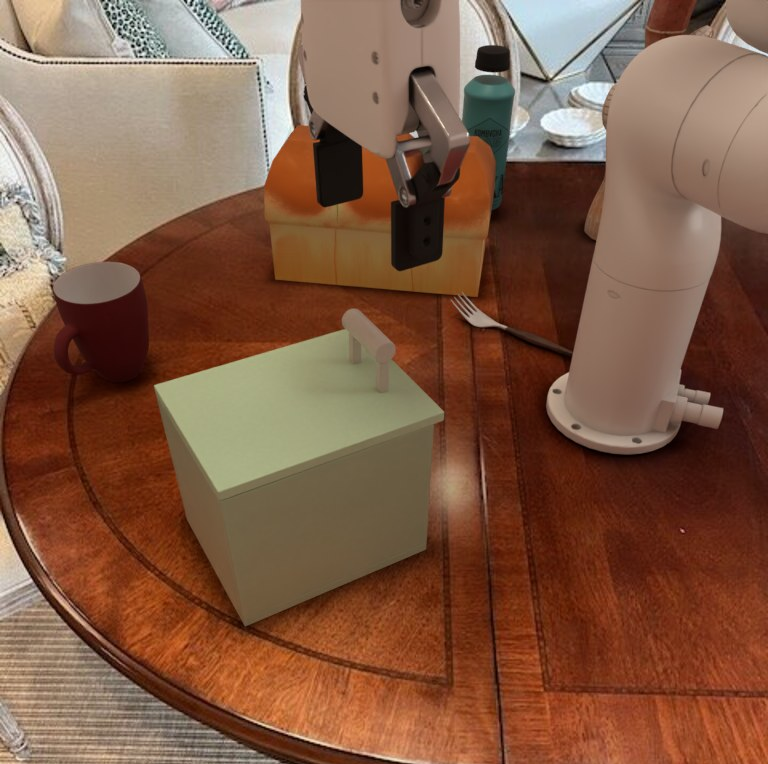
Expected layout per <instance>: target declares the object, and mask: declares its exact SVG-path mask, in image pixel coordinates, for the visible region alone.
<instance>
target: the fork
mask: <svg viewBox="0 0 768 764" xmlns="http://www.w3.org/2000/svg"><path fill="white" fill-rule="evenodd" d="M461 293H462V295H463V296H462V297H464V298H462V297H461V296H460V295H459V294H458V295H457V297H458V298H459V299H460V301H462V303H463V304H464V305H465V307H464V305H463V304H462V303H461V302H460V301H459V300H458V299H457V298H456V296H453V299H454V300H455V301H456V303H457V304H458V305H459V306H458V305H457V304H456V303H455V302H454V301H453V299H450V302H451V304H452V305H453V306H454V307H455V309H456V310H457V311H458V312H459V313H460V314H461V315H462V317H463V318H464V319H465V320H466V321H467V322H468V323H469V324H470V325H471V326H474V327H476V328H494V327H495V328H500V329H502V330H504V331H506V332H508V333H510V334H512V335H513V336H516V337H518V338H519V339H521V340H524V341H525V342H527V343H529V344H532V345H535V346H538V347H541V348H545V349H548V350H551V351H554V352H557V353H560V354H562V355H566V356H568V357H571V358H572V356H573V351H572V350H570V349H568V348H566V347H563V346H561V345H560V344H557V343H555V342H552V341H550V340H548V339H547V338H544V337H542V336H539V335H537V334H534V333H532V332H528V331H524V330H521V329H519V328H515V327H511V326H507V325H504V324H501V323H499V322H497V321H495V320H494V319H493V318H491V317H490V316H488V315H487V314H485V313H484V312H483V311H481V309H479V308H478V307H477V306H476V305H475V304H474V303H473V302H472V301H471V300H470V299H469V297H468V296H465V295H464V293H463V292H461ZM464 299H465V300H466V301H467V302H468V303H467V302H466V301H465V300H464ZM459 307H461V309H460V308H459ZM462 310H463V311H464V312H463V311H462ZM465 313H466V314H465Z"/></svg>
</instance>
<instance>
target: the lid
mask: <svg viewBox="0 0 768 764" xmlns="http://www.w3.org/2000/svg"><path fill="white" fill-rule="evenodd" d="M341 325H342V327H343V328H344V329H340V330H337V331H333V332H330V333H327V334H323V335H319V336H316V337H313V338H309V339H306V340H303V341H299V342H296V343H293V344H289V345H285V346H281V347H279V348H276V349H273V350H269V351H265V352H262V353H258V354H255V355H252V356H251V355H250V356H248V357H244V358H242V359H239V360H235V361H232V362H228V363H225V364H222V365H217V366H214V367H211V368H208V369H205V370H201V371H197V372H194V373H191V374H186V375H184V376H180V377H177V378H174V379H171V380H167V381H163V382H160V383H156V384H154V385H153V389H154V392H155V396H156V395H157V397H158V398H159V400H160V402H161V403H162V405H163V407H164V409H165V410H166V412H167V414H168V415H169V417H170V419H171V420H172V422H173V424H174V425H175V427H176V429H177V430H178V432H179V434H180V435H181V437H182V439H183V440H184V442H185V444H186V445H187V447H188V449H189V450H190V452H191V454H192V455H193V457H194V459H195V460H196V462H197V464H198V465H199V467H200V469H201V470H202V472H203V474H204V475H205V477H206V479H207V480H208V482H209V484H210V486H211V487H212V489H213V491H214V492H215V494H216V496H217V497H218V499H219V500H220V501H221V500H224V499H226V498H229V497H232V496H235V495H238V494H240V493H243V492H246V491H249V490H252V489H254V488H257V487H260V486H263V485H265V484H268V483H271V482H274V481H277V480H279V479H282V478H285V477H288V476H291V475H293V474H296V473H299V472H302V471H304V470H307V469H310V468H313V467H316V466H318V465H321V464H324V463H327V462H330V461H332V460H335V459H338V458H341V457H344V456H346V455H349V454H352V453H355V452H357V451H360V450H363V449H366V448H369V447H371V446H374V445H377V444H380V443H383V442H385V441H388V440H391V439H394V438H396V437H399V436H402V435H405V434H408V433H410V432H413V431H416V430H419V429H422V428H424V427H427V426H430V425H433V424H434V425H435V424H439V423H441V422H443V421H444V420H445V411H444V410H443V409H442V408H441V407H440V406H439V405H438V404H437V403H436V402H435V401H434V400H433V399H432V398H431V397H430V396H429V395H428V394H427V393H426V392H425V391H424V390H423V389H422V388H421V387H420V385H418V384H417V383H416V382H415V381H414V380H413V378H411V376H409V375H408V374H407V372H405V371H404V370H403V369H402V368H401V367H400V365H398V364H397V363H396V362H395V361H394V360H393V358H394V357H395V355H396V351H397V348H396V345H395V343H394V342H393V341H392V340H390V339H389V337H388V336H386V335H385V334H384V332H382V331H381V330H380V329H379V328H378V326H376V325H375V324H374V323H373V322H372V321H371V320H370V319H369V318H368V317H367V316H366V315H365V314H364V313H363V312H362V311H360V310H359V309H358V308H355V307H354V308H350V309H348V310H346V311H345V312H344V313H343V315H342V317H341ZM157 397H156V398H157Z"/></svg>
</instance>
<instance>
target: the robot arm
mask: <svg viewBox="0 0 768 764" xmlns="http://www.w3.org/2000/svg"><path fill="white" fill-rule="evenodd" d="M460 13H461V11H460V0H300V20H301V40H302V41H301V45H300V46H298V48H297V57H298V63H299V66H300V71H301V74H302V77H303V82H304V85H305V86H304V90H303V99H304V101H305V103H306V104H307V107H308V110H309V113H310V118H309V121H308V126H309V132H310V135H311V137H312V139H313V140H314V141H315V140H320V142H316V143H313V153H314V166H315V180H316V193H317V202H318V203H319V204H320V205H321V206H322V207H330V206H334V205H337V204H341V203H345V202H349V201H353V200H357V199H360V198H361V197H362V196H363V162H362V147H364V148H365V149H367V150H369V151H370V152H372V153H373V154H375V155H377V156H379V157H381V158H384V159H386V162H387V165H388V168H389V171H390V174H391V177H392V180H393V183H394V186H395V190H396V193H397V196H398V199H399V200H396V201H392V202H391V264H392V266H393V267H394V268H395V269H396V270H397V271H404V270H407V269H410V268H414V267H417V266H420V265H424V264H427V263H431V262H434V261H437V260H439V259H440V258H441V256H442V252H443V229H444V207H445V197H448V196H450V194H451V191H452V186H453V185H454V184H455V183H456V181H457V180H458V179H459V176H460V167H461V165H462V162H463V160H464V157H465V155H466V153H467V150H468V148H469V145H470V136H469V133H468V130H467V129H466V127H465V126H464V124H463V122H462V118H461V117H460V103H461V102H460V99H461V21H460V19H461V18H460V15H461V14H460ZM725 14H726V19H727V22H728V24H729V26H730V28H731V30H732V31H733V33H734V34H735V35H736V36H737V37H738V38H739V39H740V40H742V41H743V42H744V43H745V44H747V45H749V46H750V47H751V48H754V49H755V50H758V51H759V52H757V51H754V50H751V49H749V48H746V47H742V46H739V45H736V44H733V43H729V42H727V41H723V40H720V39H718V38H714V37H713V38H709V37H705V36H697V35H690V34H686V35H679V36H673V37H668V38H665V39H662V40H659V41H657V42H655V43H653V44H651V45H650V46H648V47H647V48H645V47H644V49H643V50H641V51H640V52H639V53H638V54H637V55H636V56H635V57H634V58H633V59H631V61H629V64H628V65H627V66H626V67H625V69H624V70H623V72H622V73H621V75H620V77H619V79H618V81H617V82H618V83H617V82H616V83H617V85H616V88H615V90H614V93H613V96H612V99H611V103H610V106H609V111H608V118H607V127H606V130H605V172H606V176H605V175H604V176H605V191H604V200H603V207H602V214H601V220H600V225H599V230H598V236H597V240H595V241H596V242H595V246H594V250H593V255H592V260H591V264H590V269H589V274H588V279H587V284H586V288H585V294H584V299H583V303H582V308H581V313H580V317H579V322H578V328H577V333H576V337H575V341H574V346H573V351H572V352H573V356H572V357H571V361H570V366H569V369H568V370H569V371H568V372H566V373H565V374H563V375H561V376H559V377H558V378H557V379H556V380H554V382H553V383H552V384H551V386H550V387H549V390H548V392H547V396H546V403H545V404H546V405H545V408H546V413H547V416H548V418H549V421H550V422H551V423H552V424H553V425H554V427H555V428H556V429H557V430H558V431H559V432H560V433H562V434H563V435H564V436H565V437H567V439H570V440H571V441H573V442H574V443H576V444H578V445H580V446H583V447H586V448H588V449H591V450H595V451H597V452H601V453H606V454H607V453H608V454H613V455H627V456H628V455H629V456H630V455H638V454H639V455H640V454H645V453H650V452H653V451H657V450H658V449H661V448H664V447H665V446H666V445H667V444H670V443H671V442H672V441H673V440H674V439H675V437H676V436H677V434H678V432H679V430H680V428H681V425H682V422H687V423H691V424H696V425H697V426H700V427H706V428H709V429H715V430H718V429H719V428H720V424H721V421H722V419H723V414H724V407H720V406H714V405H709V402H710V398H711V392H707V391H705V390H704V391H703V390H698V389H696V390H694V389H690V388H685V387H686V385H685V384H680V383H681V376H682V369H681V368H682V365H683V363H684V360H685V356H686V354H687V350H688V347H689V344H690V341H691V338H692V335H693V333H694V330H695V329H694V328H695V326H696V322H697V319H698V316H699V313H700V311H701V307H702V304H703V302H704V298H705V296H706V292H707V289H708V286H709V283H710V279H711V278H712V275H713V272H714V269H715V266H716V263H717V260H718V256H719V252H720V246H721V237H722V218H724V219H725V220H728V221H730V222H732V223H734V224H736V225H738V226H740V227H743V228H745V229H748V230H750V231H753V232H756V233H760V234H768V0H725ZM760 52H762V53H760ZM415 132H417V137H414V138H412V139H408V140H404V141H400V142H398V141H397V138H396V137H397V136H399V135H403V134H408V133H410V134H412V133H415ZM421 154H422V157H423V160H424V164H423V165H422V167H421V168H420V169H419V170H418V172H417V173H416V174H415V175H414V177H413V178H412V177H411V174H410V170H409V167H408V164H407V161H406V158H409V157H413V156H417V155H421Z"/></svg>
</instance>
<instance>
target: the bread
mask: <svg viewBox="0 0 768 764" xmlns="http://www.w3.org/2000/svg"><path fill="white" fill-rule="evenodd" d="M396 138H397V141H398V142H400V141H404V140H408V139H412V138H415V136H413V135H412V133H408V134H403V135H399V136H397V137H396ZM316 142H320V140H315V141H314V140H313V139H312V137H311V135H310V132H309V125H303V124H298V125H297V126H296V127H295V128H294V129H292V131H291V132H290V134H289V135H288V137H287V138H286V140H285V141H284V143H283V145H281V147H280V149H279V150H278V151H277V153H276V155H275V156H274V158H273V159H272V161H271V164H270V167H269V170H268V173H267V176H266V179H265V182H264V185H263V200H264V201H263V203H264V205H263V207H264V208H263V210H264V211H263V214H264V215H263V216H264V218H263V219H264V220H265V221H266V222H267V223H268V224H269V232H270V233H269V234H270V241H271V242H270V243H271V252H272V263H273V271H274V280H276V281H286V282H299V283H309V284H322V285H333V286H344V287H358V288H368V289H369V288H370V289H379V290H381V289H382V290H391V291H403V292H413V293H414V292H415V293H425V294H437V295H450V296H458V294H459V295H460V297H461V296H462V297H464V296H463V295H462V293H461V292H463V293H464V295H465V296H466V297H471V298H472V297H473V298H478V296H479V291H480V290H479V289H480V284H481V276H482V270H483V263H484V257H485V250H486V241H487V238H488V237H489V236H488V235H489V228H490V222H491V215H492V210H491V209H492V203H493V196H494V189H495V171H496V161H495V158H494V155H493V152H492V150H491V147H490V146H489V145H488V144H487V143H485V142H484V141H483V140H482V139H480V138H479V137H477V136H470V145H469V148H468V150H467V153H466V155H465V157H464V160H463V162H462V165H461V167H460V176H459V179H458V180H457V181H456V183H455V184H454V185H453V186H452V191H451V194H450V196H448V197H445V207H444V229H443V252H442V256H441V258H440V259H439V260H437V261H434V262H431V263H427V264H424V265H420V266H417V267H414V268H410V269H407V270H404V271H397V270H396V269H395V268H394V267H393V266H392V264H391V202H392V201H396V200H399V199H398V196H397V193H396V190H395V186H394V183H393V180H392V177H391V174H390V171H389V168H388V165H387V162H386V159H384V158H381V157H379V156H377V155H375V154H373V153H372V152H370V151H369V150H367V149H365V148H364V147H362V162H363V196H362V197H361V198H360V199H357V200H353V201H349V202H345V203H341V204H337V205H334V206H330V207H322V206H321V205H320V204H319V203H318V202H317V193H316V180H315V166H314V153H313V143H316ZM406 161H407V164H408V167H409V170H410V174H411V177H412V178H413V177H414V175H415V174H416V173H417V172H418V170H419V169H420V168H421V167H422V165H423V164H424V160H423V157H422V154H421V155H417V156H413V157H409V158H406Z"/></svg>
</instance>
